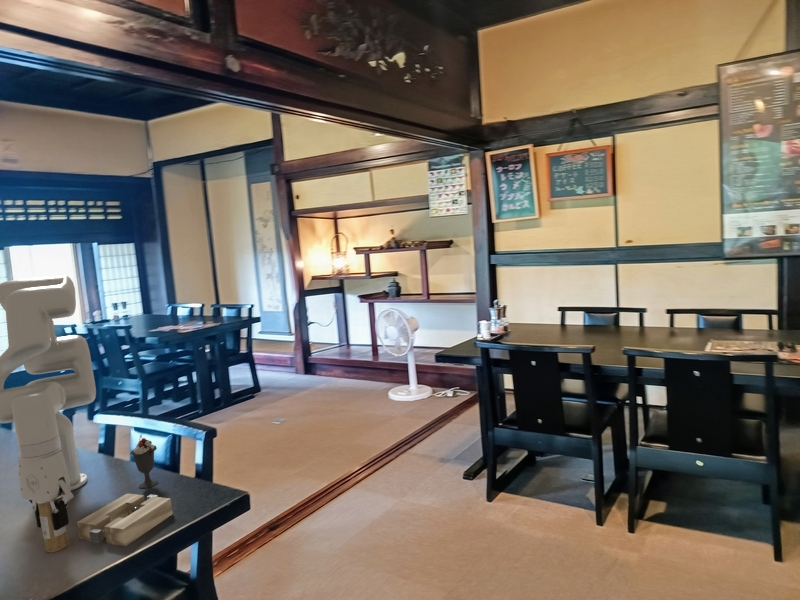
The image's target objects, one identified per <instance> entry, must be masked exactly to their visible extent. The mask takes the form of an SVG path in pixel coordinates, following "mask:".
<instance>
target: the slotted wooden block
mask: <svg viewBox="0 0 800 600" xmlns="http://www.w3.org/2000/svg"><path fill="white" fill-rule="evenodd" d="M140 506H141V508H140V509H138V510H137V511H135V512H133V513H132V509H133V508H134V507H140ZM173 513H174V511H173V506H172V500H171V498H170V497H168V498H167V497H161V496H160V497H159V496H158V497H151V498H149V499H148V500H147V499H145V495H144V494H135V493H126V494H124V495H122V496H120V497H119V498H117V499H115V500H113V501H112V502H109V503H108V504H106V505H105V506H102V507H101V508H99V509H97V510H96V511H94V512H93V513H90V514H89V515H88V516H85V517H83V518H82V519H81V520H79V521H77V522H76V525H77V530H78V537H79V539H80V540H84V541H90V542H91V539H90V533H89V532H90V531H91V530H93V529H98V530H103V529H105V533H104V534H103V539H104V538H105V540H106V544H108V545H113V546H114V545H115V546H120V547H121V546H122V547H127V546H128V545H130V544H131V543H133V542H134V541H136V540H137V539H138V538H140V537H141V536H143V535H144V534H146V533H147V532H149V531H150V530H152V529H154V527H156V526H157V525H159V524H160V523H162V522H164V521H165V520H166V519H168V518H170V516H172V515H173ZM113 520H114V521H113Z"/></svg>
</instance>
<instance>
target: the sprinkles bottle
mask: <svg viewBox="0 0 800 600" xmlns="http://www.w3.org/2000/svg"><path fill="white" fill-rule="evenodd" d="M58 495H59V493H58ZM59 501H60V499H58V500H56V503H57V504H58V503H59ZM36 502H37V504H38V508H39V514H40V521H41V532H42V538H43V540H44V545H45V549H44V550H45V552H46V553H51V554H52V553H56V552H60V551H61V550H63V549H64V548H66V547H67V546H68V545H69V544H70V543H69V542H70V541H69V539H68V535H67V527H66V526H67V525H66V526H64V527H62V528H60V529H59V530H54V528H53V522H52V516H51V513H53V510H52V507H51V504H50V502H41V501H36Z"/></svg>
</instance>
